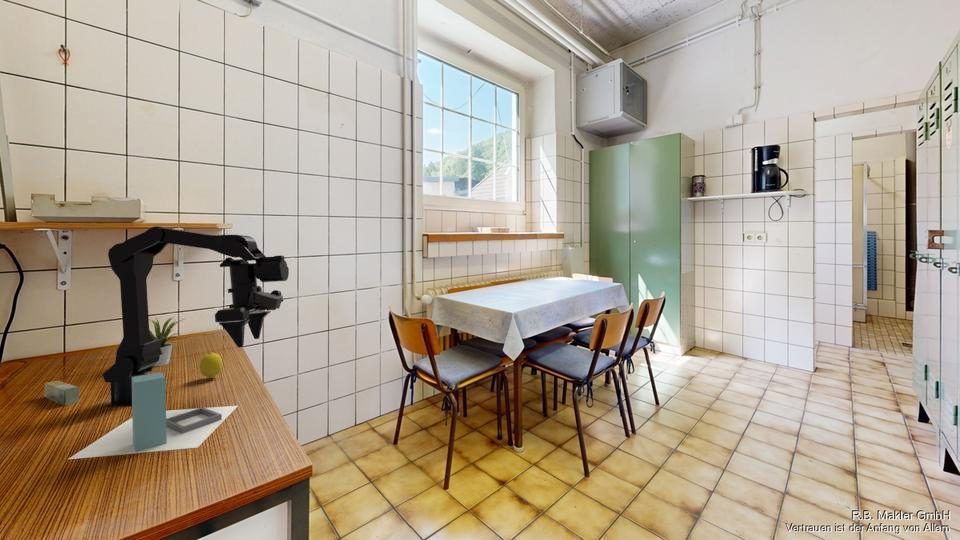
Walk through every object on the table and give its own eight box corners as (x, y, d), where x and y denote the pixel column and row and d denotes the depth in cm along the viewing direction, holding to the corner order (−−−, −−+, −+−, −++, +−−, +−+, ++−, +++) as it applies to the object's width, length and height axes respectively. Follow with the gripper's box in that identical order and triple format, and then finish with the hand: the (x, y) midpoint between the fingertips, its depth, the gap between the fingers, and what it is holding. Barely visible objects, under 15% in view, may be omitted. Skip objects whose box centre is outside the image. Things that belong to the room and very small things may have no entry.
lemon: (207, 375, 115) (207, 349, 114) (226, 375, 115) (226, 349, 115) (195, 381, 109) (195, 354, 109) (215, 381, 109) (215, 354, 109)
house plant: (189, 355, 136) (188, 310, 135) (192, 364, 126) (191, 315, 125) (135, 362, 127) (134, 314, 126) (134, 372, 116) (133, 320, 115)
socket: (162, 425, 80) (162, 419, 80) (202, 412, 87) (202, 407, 86) (181, 433, 76) (181, 428, 76) (221, 419, 83) (221, 414, 83)
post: (132, 443, 72) (131, 377, 72) (162, 435, 75) (161, 371, 75) (135, 451, 69) (134, 382, 69) (166, 443, 72) (165, 377, 72)
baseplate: (67, 464, 66) (67, 459, 66) (139, 416, 86) (139, 412, 86) (197, 452, 71) (197, 447, 71) (238, 409, 91) (238, 405, 91)
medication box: (80, 402, 93) (80, 387, 93) (64, 406, 91) (64, 390, 91) (58, 394, 98) (58, 379, 98) (43, 398, 96) (43, 382, 96)
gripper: (261, 284, 89) (267, 349, 90) (289, 279, 108) (294, 332, 108) (210, 287, 88) (216, 353, 88) (248, 281, 106) (252, 335, 107)
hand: (249, 342), depth 98 cm, fingers open, 9 cm apart
